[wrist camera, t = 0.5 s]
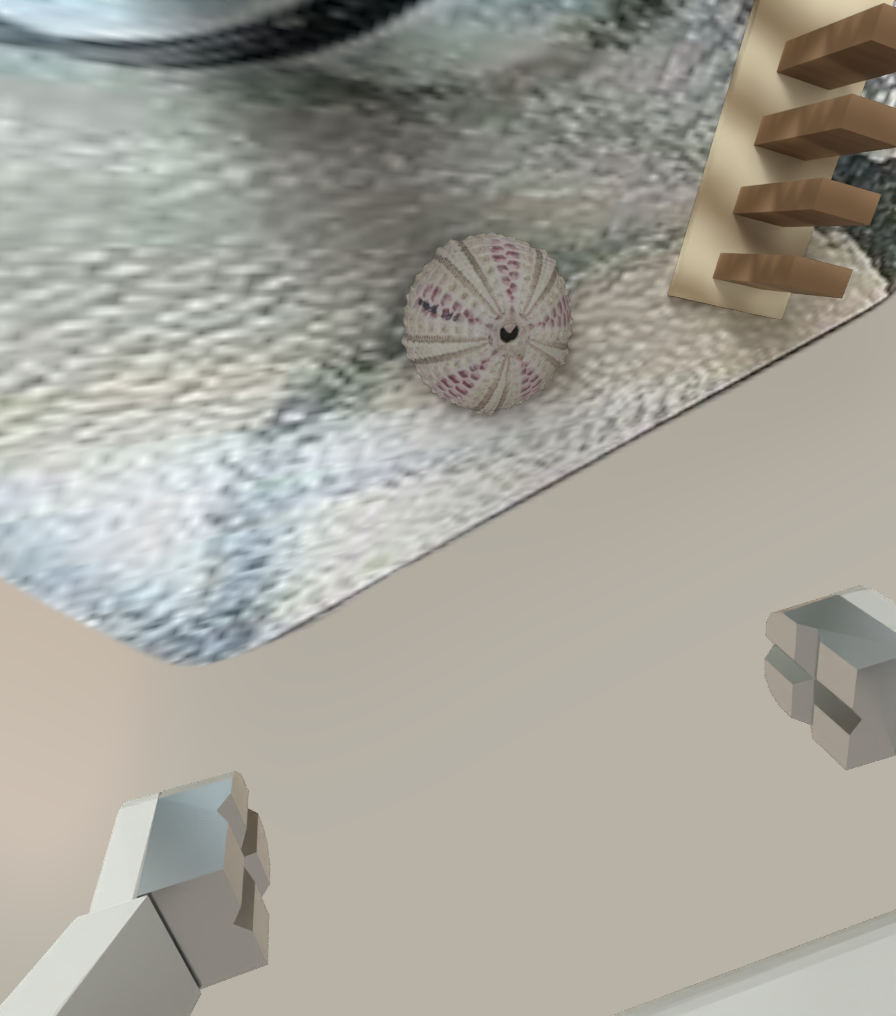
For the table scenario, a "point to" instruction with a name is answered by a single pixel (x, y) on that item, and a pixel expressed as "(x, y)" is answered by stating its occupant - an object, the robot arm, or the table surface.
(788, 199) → the domino
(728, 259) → the domino
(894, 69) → the domino
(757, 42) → the birch board
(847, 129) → the domino
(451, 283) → the sea urchin shell
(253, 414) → the table surface
